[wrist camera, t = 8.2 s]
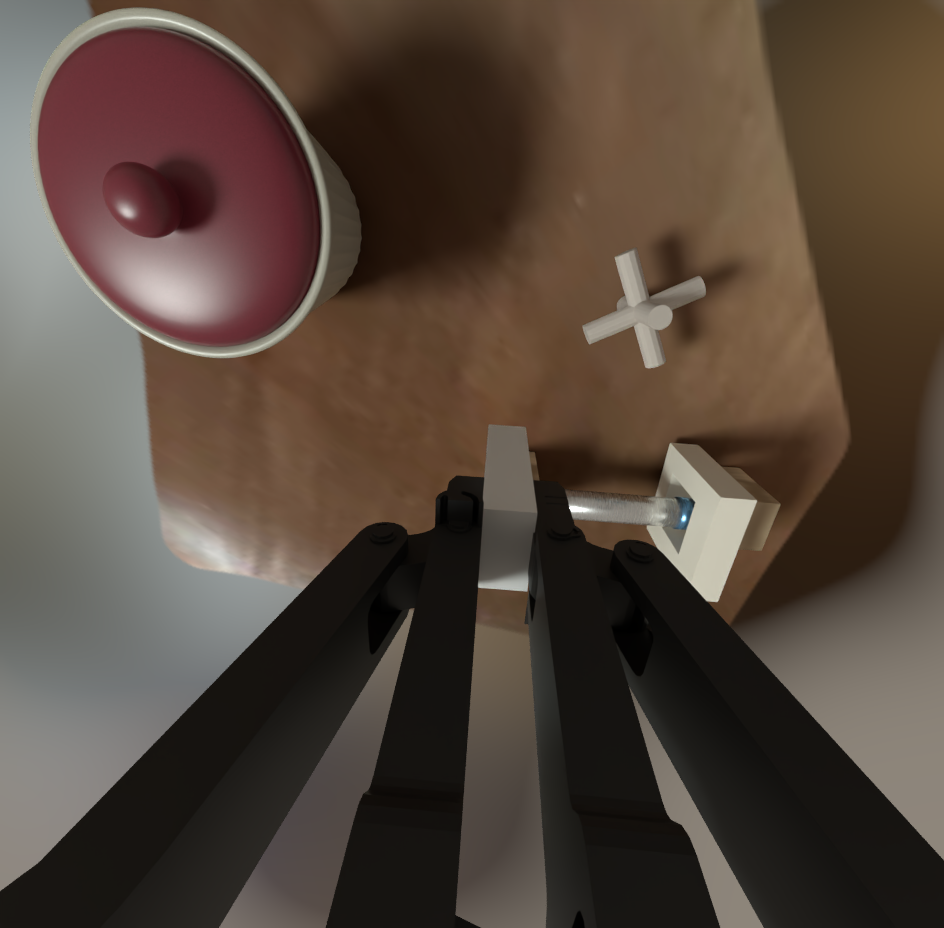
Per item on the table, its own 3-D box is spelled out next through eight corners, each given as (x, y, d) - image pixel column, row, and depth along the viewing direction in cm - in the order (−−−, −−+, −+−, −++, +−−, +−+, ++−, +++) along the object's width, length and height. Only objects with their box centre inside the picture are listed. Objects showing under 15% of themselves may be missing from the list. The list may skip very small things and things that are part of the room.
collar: (646, 528, 52) (685, 599, 41) (670, 442, 47) (720, 497, 36) (672, 530, 52) (717, 601, 41) (698, 444, 47) (757, 500, 36)
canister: (370, 349, 46) (276, 413, 27) (198, 292, 44) (-30, 316, 25) (413, 150, 38) (325, 41, 19) (207, 74, 37) (-110, -128, 18)
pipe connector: (690, 332, 43) (740, 352, 34) (592, 372, 45) (614, 400, 36) (665, 228, 39) (714, 219, 30) (560, 276, 42) (576, 281, 33)
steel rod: (509, 505, 47) (510, 521, 44) (512, 478, 46) (513, 493, 43) (744, 524, 46) (760, 542, 43) (754, 497, 45) (772, 514, 42)
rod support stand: (504, 492, 52) (504, 529, 45) (508, 450, 50) (509, 482, 42) (724, 509, 51) (761, 550, 44) (739, 468, 49) (780, 503, 42)
